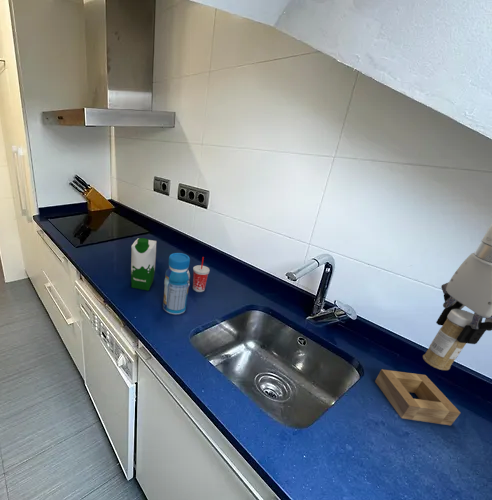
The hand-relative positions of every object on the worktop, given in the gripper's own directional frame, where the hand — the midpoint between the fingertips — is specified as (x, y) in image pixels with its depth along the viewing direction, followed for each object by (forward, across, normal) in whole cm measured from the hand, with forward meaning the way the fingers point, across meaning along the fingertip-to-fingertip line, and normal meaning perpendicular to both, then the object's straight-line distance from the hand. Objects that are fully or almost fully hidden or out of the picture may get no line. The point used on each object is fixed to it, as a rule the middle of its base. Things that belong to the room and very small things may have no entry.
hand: (455, 332), depth 60 cm
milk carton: (+22, +39, +72) cm, 85 cm away
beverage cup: (+22, +40, +50) cm, 68 cm away
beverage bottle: (+22, +26, +58) cm, 68 cm away
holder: (+21, 0, 0) cm, 21 cm away
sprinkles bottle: (+9, 0, 0) cm, 9 cm away
